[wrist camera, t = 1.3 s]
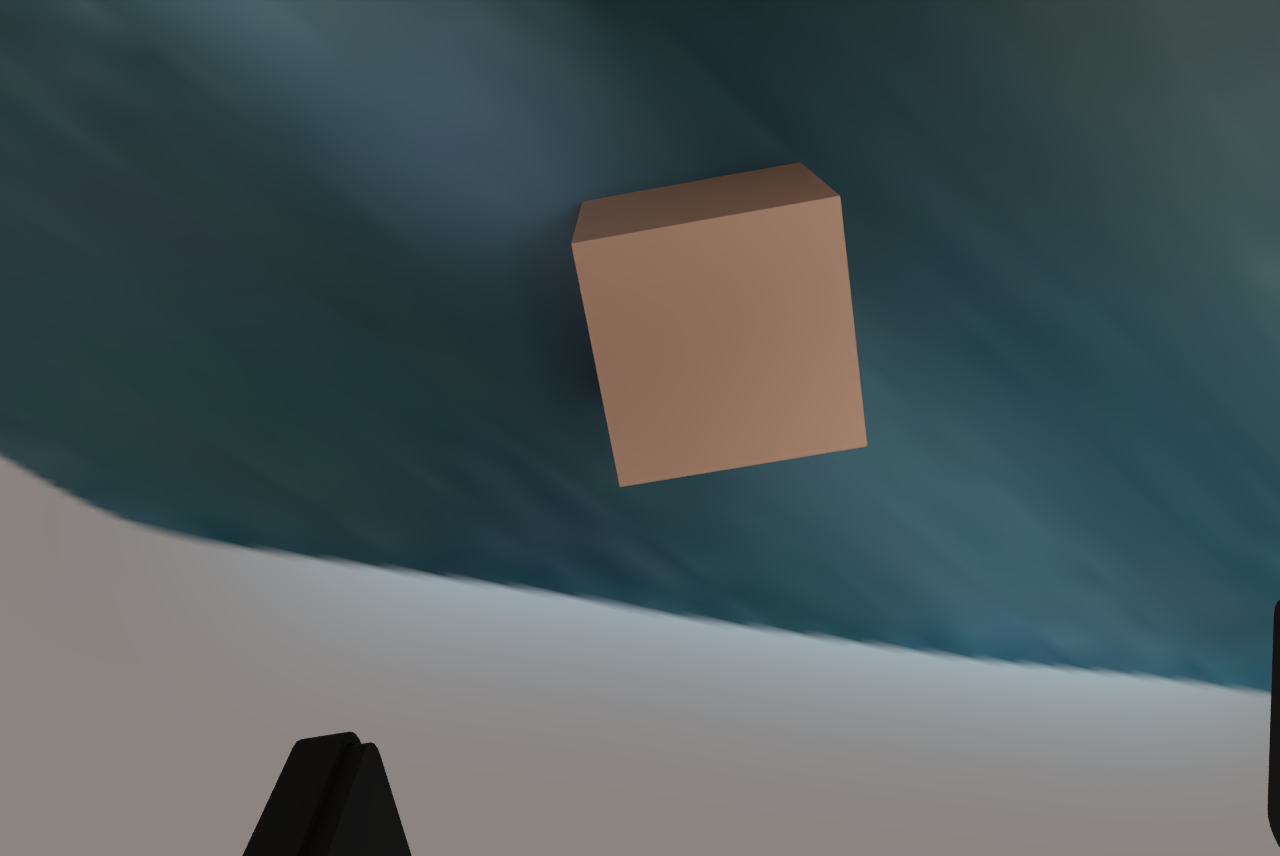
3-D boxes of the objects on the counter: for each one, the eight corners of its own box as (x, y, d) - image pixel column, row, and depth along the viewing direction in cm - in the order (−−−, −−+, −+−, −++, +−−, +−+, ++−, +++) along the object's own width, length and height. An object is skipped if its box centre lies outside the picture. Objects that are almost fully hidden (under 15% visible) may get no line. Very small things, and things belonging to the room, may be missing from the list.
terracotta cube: (799, 162, 29) (840, 195, 24) (824, 369, 31) (867, 446, 26) (582, 200, 29) (571, 243, 24) (621, 403, 32) (620, 487, 26)
